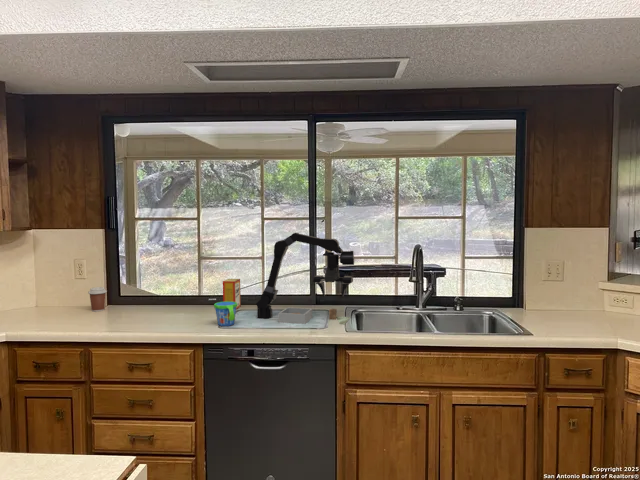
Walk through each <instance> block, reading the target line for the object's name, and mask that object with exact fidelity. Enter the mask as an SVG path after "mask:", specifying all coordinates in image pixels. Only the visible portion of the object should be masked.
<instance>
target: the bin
mask: <svg viewBox="0 0 640 480" xmlns="http://www.w3.org/2000/svg"><path fill="white" fill-rule="evenodd" d="M292 313H300V314H292ZM312 319H313V308H306V307H304V308H303V307H286V308H285V309H283V310H281V311H280V312H278V323H280V324H281V323H283V324H284V323H285V324H295V325H296V324H298V325H300V324H301V325H306V324H307V323H308V322H310V320H312Z"/></svg>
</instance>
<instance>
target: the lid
mask: <svg viewBox="0 0 640 480" xmlns="http://www.w3.org/2000/svg"><path fill="white" fill-rule="evenodd" d="M328 311H329V312H328V315H329V317H328V319H329V320H332V321H333V320H334V321H335V320H336V319H337V321H338V323H339V325H346V323H347V322H348V321H349V320H350V318H351V317H350V316H338V315H337V314H338V313H337V308H330V309H329V310H328Z"/></svg>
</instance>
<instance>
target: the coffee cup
mask: <svg viewBox="0 0 640 480" xmlns="http://www.w3.org/2000/svg"><path fill="white" fill-rule="evenodd" d="M107 292H108V290H106V289H105V287H104V286H103V287H102V286H97V287H91V288H90V289H89V291H88V293H87V294H88V295H89V299H90V307H91V308H90V309H91V312H103V311H105V310H106V309H105V307H106V293H107Z"/></svg>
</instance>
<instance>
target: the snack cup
mask: <svg viewBox="0 0 640 480" xmlns="http://www.w3.org/2000/svg"><path fill="white" fill-rule="evenodd" d="M213 306H214V309H215V315H216V320H217V325H218V326H221V327H229V326H233V325H234V324H235V321H236V313H237V309H236V307H237V303H236V302H231V301H226V302H223V301H217V302H216V303H214V304H213Z"/></svg>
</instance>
